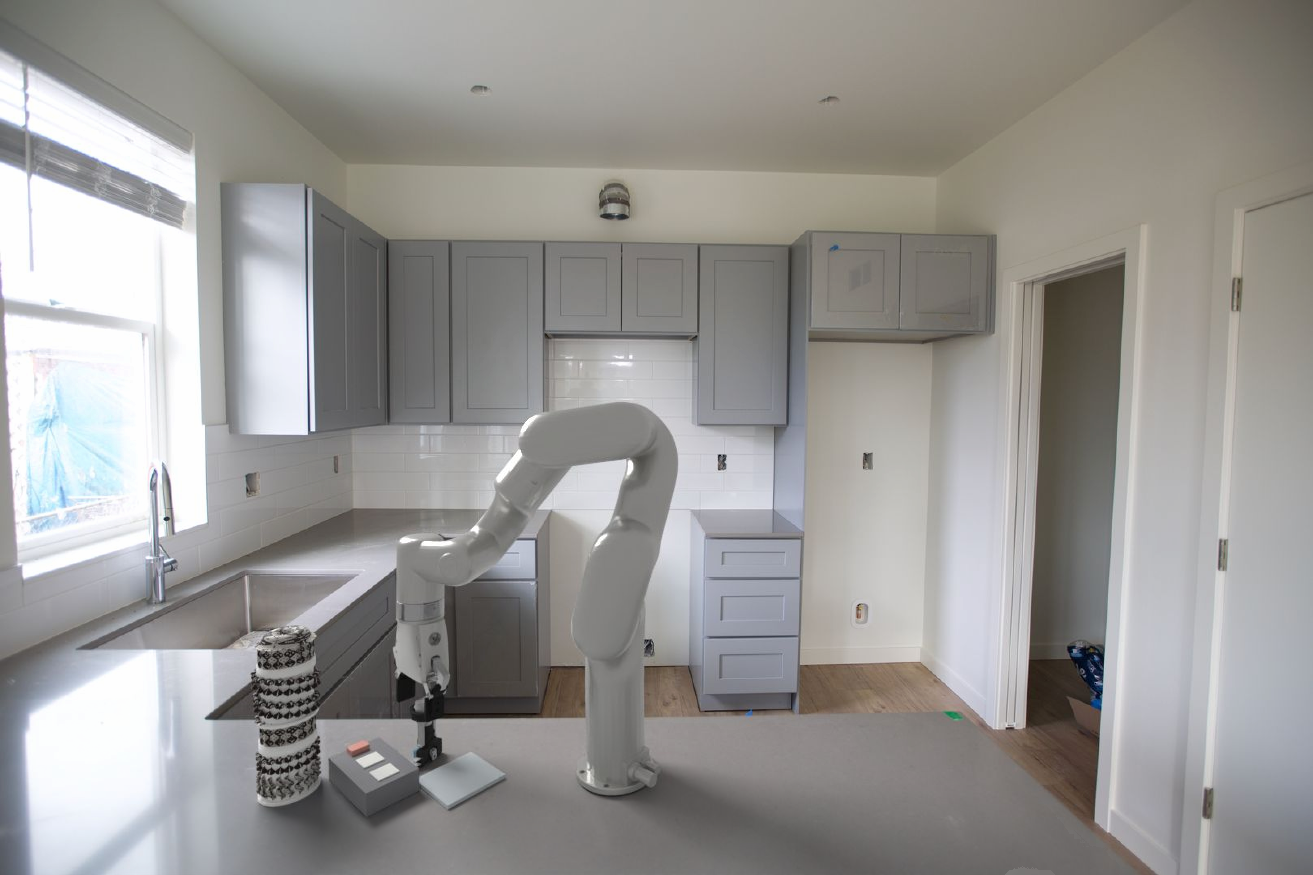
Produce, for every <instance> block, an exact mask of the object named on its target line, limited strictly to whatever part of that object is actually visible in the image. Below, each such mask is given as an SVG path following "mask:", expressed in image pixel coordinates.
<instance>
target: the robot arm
mask: <svg viewBox="0 0 1313 875" xmlns="http://www.w3.org/2000/svg"><path fill="white" fill-rule="evenodd" d="M517 442H518V449H517V451H516V452H515V453H514V454H513V455H512V456H511V458H510V460H509V461H508V462H507V463H506V464H505V466H504V467H503V468H502V469H501V470H500V471H499V473H498V474H497V475H496V476H495V479H494V482H493V486H494V490H495V491H494V492H495V494H494V498H493V500H492V502H491V504H490V506H489V507H488V509H487V510H485V512H484V514H483V515H482V516H481V517H480V519H479V520H478V521H477V522H476V523H475V524H474V525H473V527H472V528H471V529H470V530H469V531H468V532H466V533H463V534H461V535H458V536H456V537H454V538H450V539H447V540H444V538H443V537H442V536H441V535H439V534H437V533H430V532H427V533H426V532H423V533H420V532H419V533H413V534H407V535H405V536H402V537H401V538H399V540H398V541H397V544H396V575H395V576H396V577H395V580H396V583H395V584H396V585H395V586H396V587H395V588H396V596H395V597H396V598H395V620H396V622H397V624H396V633H395V634H396V635H395V636H396V637H395V646H393V647H392V653H393V657H394V661H393V664H394V666H395V669H396V670H395V671H394V676H395V678H396V679H395V686H396V687H395V701H396V702H398V703H401V702H405V701H408V700H409V699H412V698H415V697H416V683H419V684H422V685H423V687H424V689H423V690H424V691H425V694H426V695H425V696H427V697H426V698H424V721H425V722H426V723H428V722H431V721H433V720H436V721H437V720H438V719H441V718H442V717H444V715H445V694H447V690H448V688H449V682H450V680H451V674H450V672H449V671H450V670H449V669H450V666H449V665H450V664H449V663H450V662H449V641H448V640H449V639H448V632H447V631H448V630H447V625H446V619H445V618H444V617H445V586H448V587H450V586H451V587H460V586H461V587H462V586H464V585H467V584H469V583H471V582H472V581H474V580H475V579H477V578H479V577H480V576H481V575H483V574H484V573H486V572H488V571H490V570H491V569H493V568H494V567H495V565H497V564H498V563H499V561H501V560H502V558H503V557H504V556H505V555H506V554H507V553H508V551H509V550H510V549H511V547H512V546H513V545H514V544H515V542H517V540H518V539H519V537H520V536H521V535H522V533H523V532H524V530H525V529H526V528H527V526H528V525H529V523H530V521H531V520H532V519H533V518H534V517H535V514H536V512H537V511H538V509H539V508H540V506H542V504H543V503H544V502H545V500H546V499H547V498H548V497H549V495H550V494H551V493H552V492H553V491H554V489H555V488H557V486H558V485H559V483H560V482H561V481H562V479H563V478H564V477H565V476H566V475H567V474H568V472H569V471H570V470H571V468H573V467H577V466H583V465H584V466H585V465H592V464H598V463H605V462H606V463H607V462H616V461H622V460H626V463H625V464H626V466H625V472H624V475H623V478H622V480H621V484H620V486H619V490H618V495H617V499H616V503H615V506H614V509H613V513H612V516H611V519H610V521H609V523H608V525H607V526H606V527H605V528H604V529H603V530H602V531H601V532H600V533H599V535H598V536H597V537H596V539H595V540H594V542H593V544H592V546H591V549H590V551H589V555H588V557H587V561H586V565H585V568H584V572H583V576H582V579H581V583H580V586H579V590H578V592H577V596H576V600H575V604H574V607H573V611H572V615H571V620H570V634H571V638H572V641H573V643H574V645H575V647H576V649H577V650H578V651H579V653H581V655H583V656H584V657H585V658H584V662H585V663H584V665H585V666H584V673H585V674H584V682H585V683H584V687H585V688H584V690H585V693H584V695H585V697H584V698H585V703H584V704H585V754H584V755H583V756H581V757H580V759H579V760H578V762H577V765H576V778H577V781H578V783H579V784H580V785H581V786H582V787H583V788H585V789H586V790H587V791H590V792H592V793H594V794H597V795H602V796H603V795H604V796H621V795H627V794H628V795H629V794H631V793H634V792H636V791H639V790H640V789H642V788H644V787H645V786H647V787H648V788H654V787H655V786H656V784H657V781H658V775H659V774H660V772H661V769H662V766H661V765H660V764H658V763H655V761H654V759H653V757H652V756H651V754H650V747H648V746H646V745H645V741H646V740H645V739H646V738H645V636H646V635H645V634H646V603H645V602H646V601H645V598H646V594H647V592H648V588H649V584H650V581H651V578H652V574H653V572H654V568H655V566H656V564H657V562H658V559H659V556H660V551H661V544H662V539H663V535H664V530H665V527H666V524H667V520H668V517H669V516H668V515H669V512H670V508H671V503H672V500H673V496H674V492H675V487H676V484H677V481H678V480H677V478H678V472H679V454H678V449H677V444H676V442H675V439H674V437H673V435H672V432H671V431H670V429H669V428H668V426H667V425H666V424H665V423H664V421H663V420H662V419H661V418H660V417H659V416H658V415H657V414H656V413H654V412H653V411H652V410H651V409H650V408H648V407H646V406H644V405H642V404H638V403H635V402H629V401H628V402H627V401H614V402H608V403H607V402H606V403H600V404H594V405H587V406H580V407H575V408H574V407H573V408H568V409H559V410H549V411H543V412H539V413H535V414H534V415H533V416H531V417H529V419H528V420H527V421H525V423H524V424H523V425H522V427H521V429H520V432H519V434H518V441H517ZM430 675H433V676H430ZM428 676H429V677H428ZM433 682H435V683H436V684H435V685H434V686H433V688H432V686H431V683H433Z"/></svg>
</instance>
